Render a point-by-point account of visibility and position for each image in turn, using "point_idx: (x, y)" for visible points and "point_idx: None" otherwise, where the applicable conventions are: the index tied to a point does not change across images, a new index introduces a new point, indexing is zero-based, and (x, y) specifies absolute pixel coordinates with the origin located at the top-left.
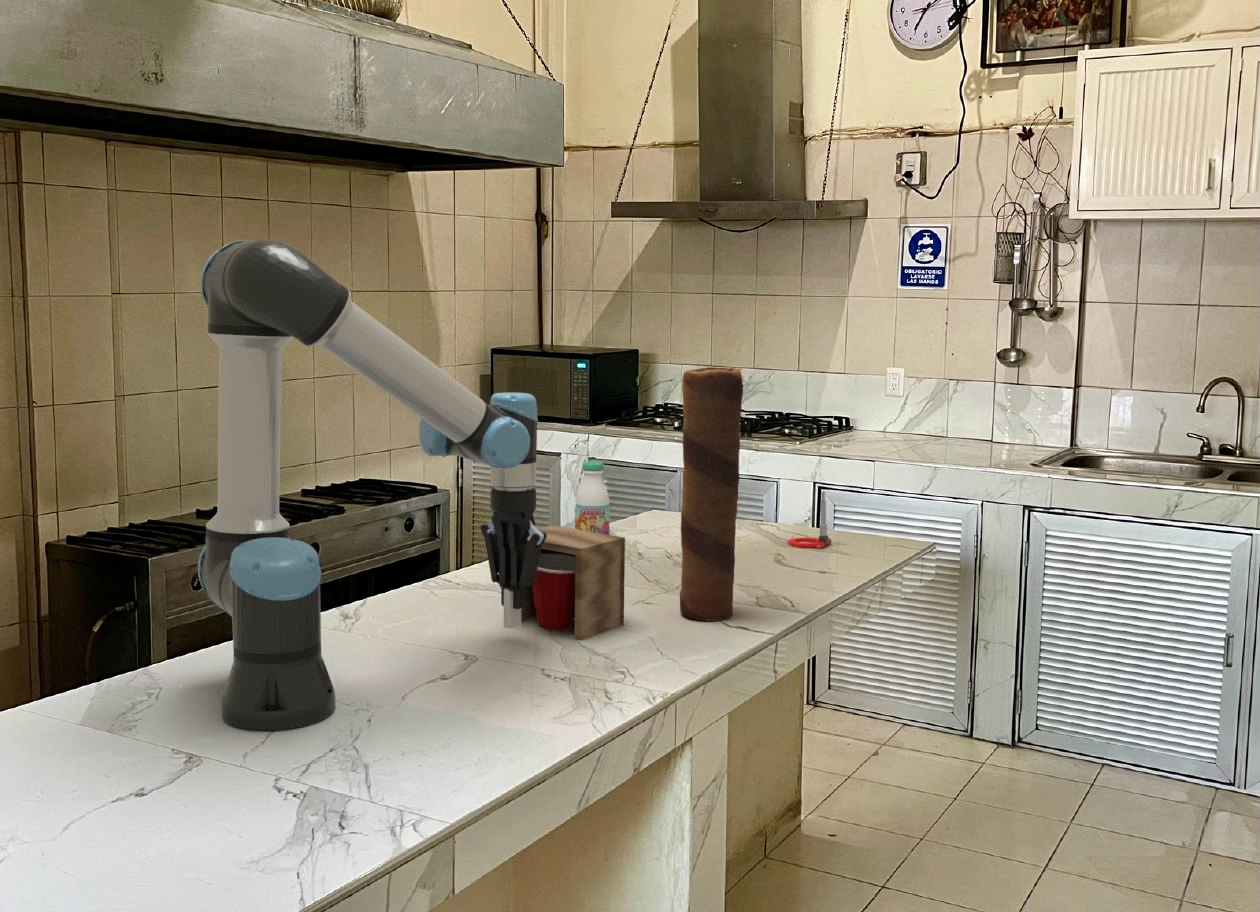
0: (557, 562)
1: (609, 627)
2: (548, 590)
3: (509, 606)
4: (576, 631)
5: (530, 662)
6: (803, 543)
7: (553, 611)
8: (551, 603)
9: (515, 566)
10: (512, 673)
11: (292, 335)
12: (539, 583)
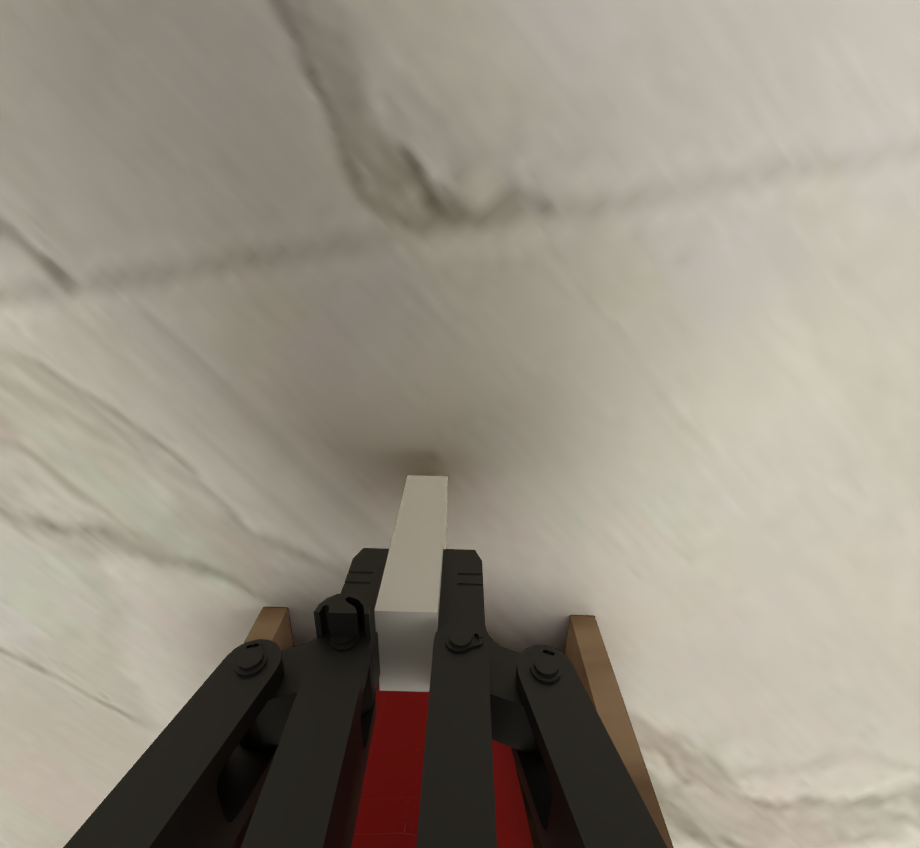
0: None
1: None
2: (368, 770)
3: (398, 539)
4: (268, 629)
5: (168, 313)
6: None
7: (379, 686)
8: (376, 713)
9: (262, 828)
10: (83, 132)
11: None
12: (409, 797)
